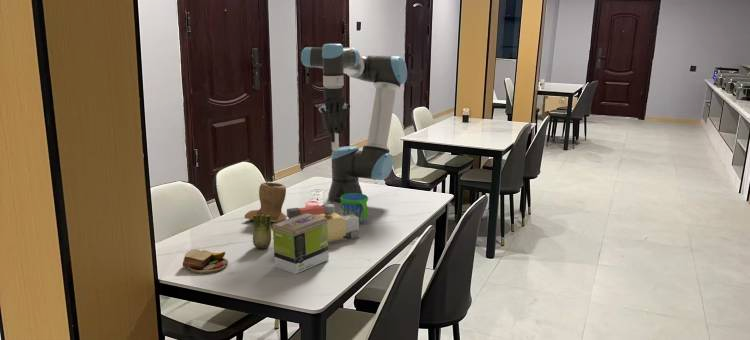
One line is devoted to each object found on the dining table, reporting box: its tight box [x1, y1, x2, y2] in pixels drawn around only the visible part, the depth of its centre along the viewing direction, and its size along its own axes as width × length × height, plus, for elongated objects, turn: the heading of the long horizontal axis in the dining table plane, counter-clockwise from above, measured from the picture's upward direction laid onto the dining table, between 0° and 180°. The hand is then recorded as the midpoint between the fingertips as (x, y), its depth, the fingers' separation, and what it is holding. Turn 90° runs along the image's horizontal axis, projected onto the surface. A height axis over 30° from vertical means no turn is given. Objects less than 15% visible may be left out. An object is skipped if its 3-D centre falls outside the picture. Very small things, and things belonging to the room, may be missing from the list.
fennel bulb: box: [252, 215, 272, 250], centre depth 205 cm, size 6×5×12 cm
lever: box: [286, 203, 335, 219], centre depth 208 cm, size 17×4×3 cm, turn 113°
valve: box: [316, 211, 360, 245], centre depth 212 cm, size 7×22×10 cm, turn 121°
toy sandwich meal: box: [182, 248, 229, 274], centre depth 190 cm, size 12×14×5 cm
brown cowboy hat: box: [243, 181, 288, 223], centre depth 234 cm, size 15×12×15 cm
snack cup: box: [339, 193, 369, 225], centre depth 233 cm, size 16×10×10 cm
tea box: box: [272, 213, 330, 275], centre depth 191 cm, size 15×10×15 cm, turn 141°
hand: (335, 150), depth 225 cm, fingers closed
